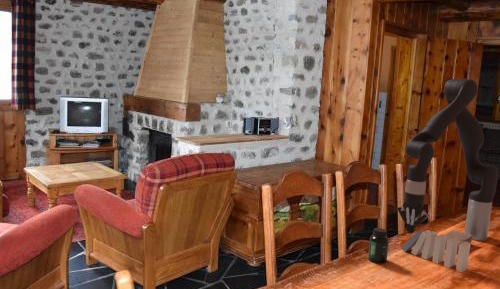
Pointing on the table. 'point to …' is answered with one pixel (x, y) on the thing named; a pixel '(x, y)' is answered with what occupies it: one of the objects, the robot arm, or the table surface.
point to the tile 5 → (451, 252)
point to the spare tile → (412, 241)
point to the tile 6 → (463, 256)
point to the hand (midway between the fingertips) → (410, 233)
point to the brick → (458, 237)
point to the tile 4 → (439, 248)
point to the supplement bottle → (378, 246)
